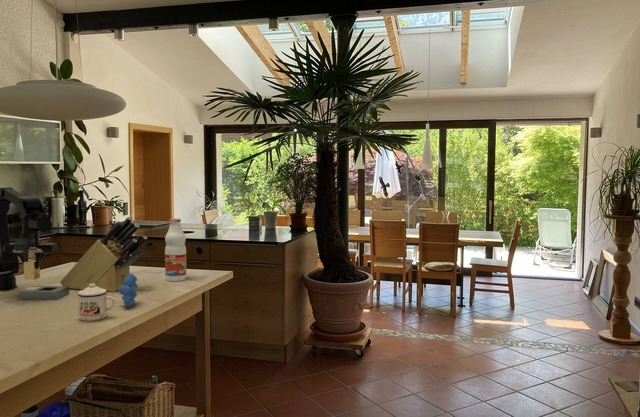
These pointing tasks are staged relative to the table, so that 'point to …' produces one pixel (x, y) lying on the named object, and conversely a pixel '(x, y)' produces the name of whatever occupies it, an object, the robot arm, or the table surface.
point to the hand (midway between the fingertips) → (31, 268)
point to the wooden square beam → (31, 270)
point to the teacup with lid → (93, 303)
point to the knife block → (107, 259)
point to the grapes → (129, 290)
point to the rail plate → (43, 293)
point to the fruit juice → (175, 252)
